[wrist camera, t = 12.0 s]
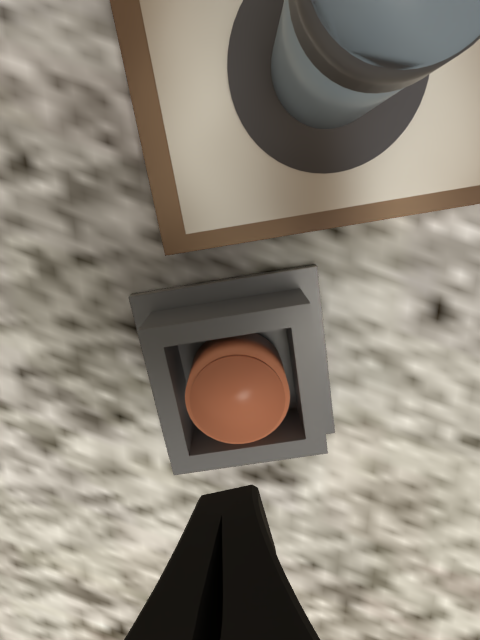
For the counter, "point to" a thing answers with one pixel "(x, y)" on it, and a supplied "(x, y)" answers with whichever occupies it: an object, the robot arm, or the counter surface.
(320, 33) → the grey canister
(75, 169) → the counter surface
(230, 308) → the button housing
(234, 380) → the button
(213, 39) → the cream rectangular board
